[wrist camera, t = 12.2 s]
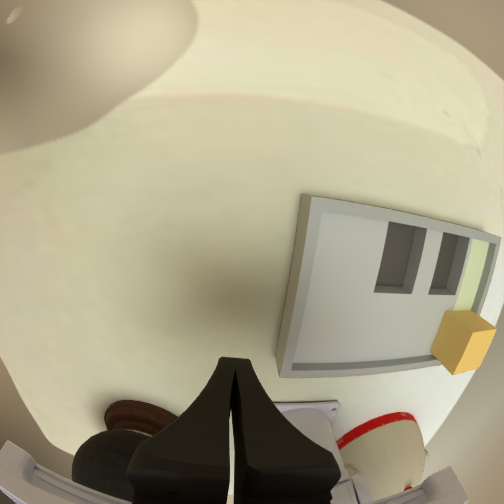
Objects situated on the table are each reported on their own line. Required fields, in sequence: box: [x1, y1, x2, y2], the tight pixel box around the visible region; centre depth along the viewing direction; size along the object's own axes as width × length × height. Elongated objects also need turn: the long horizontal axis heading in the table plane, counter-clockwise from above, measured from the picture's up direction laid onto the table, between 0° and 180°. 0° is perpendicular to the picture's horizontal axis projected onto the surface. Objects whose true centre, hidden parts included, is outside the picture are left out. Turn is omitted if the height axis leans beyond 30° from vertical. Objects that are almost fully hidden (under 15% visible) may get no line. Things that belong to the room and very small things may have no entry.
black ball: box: [72, 400, 178, 502], centre depth 18 cm, size 13×13×15 cm
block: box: [430, 310, 497, 375], centre depth 19 cm, size 4×4×4 cm
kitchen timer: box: [336, 412, 429, 501], centre depth 21 cm, size 14×14×15 cm
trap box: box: [275, 194, 501, 378], centre depth 20 cm, size 14×21×3 cm, turn 84°
